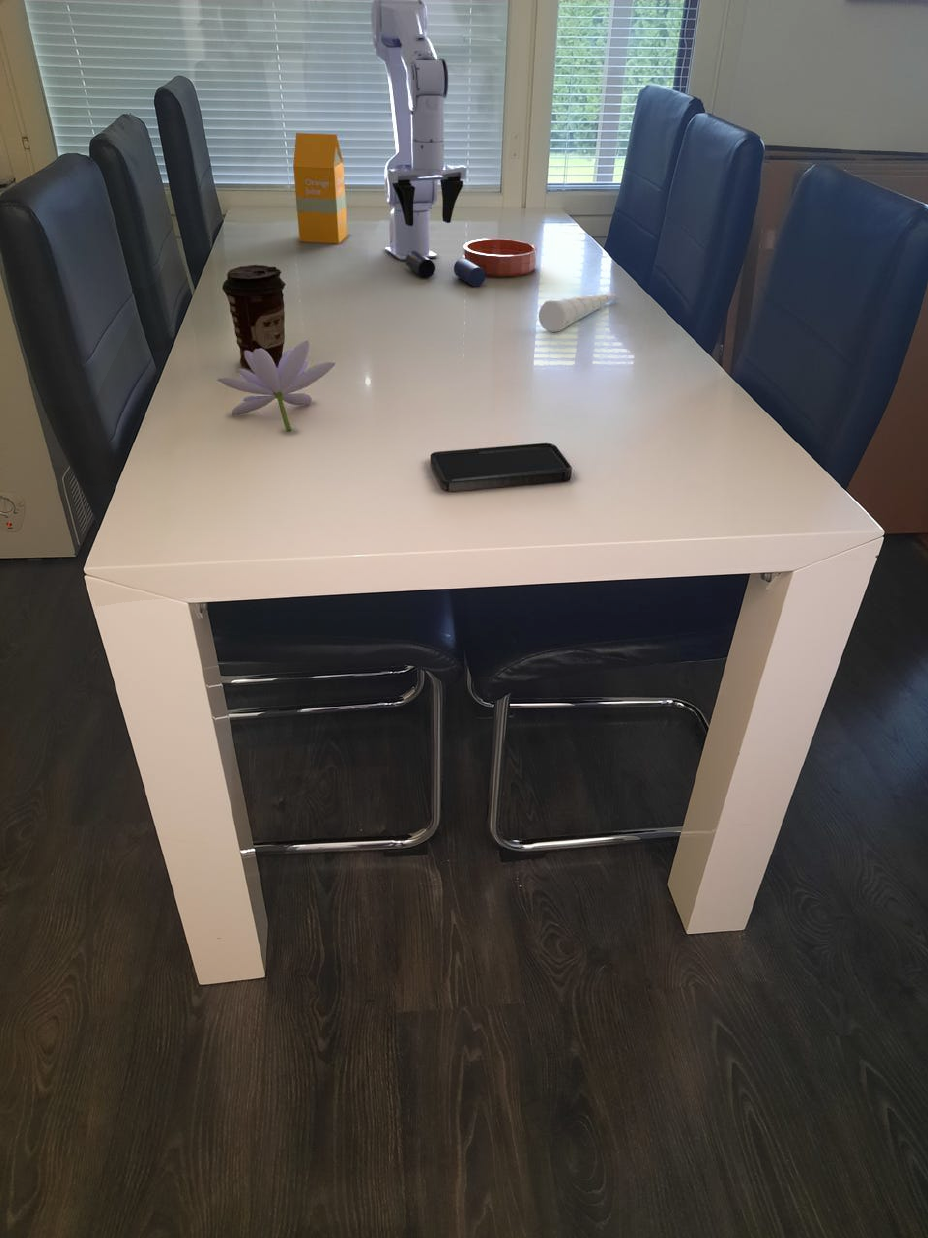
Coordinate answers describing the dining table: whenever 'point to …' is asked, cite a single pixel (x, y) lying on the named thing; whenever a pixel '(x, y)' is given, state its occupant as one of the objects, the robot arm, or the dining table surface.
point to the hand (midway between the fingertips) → (428, 223)
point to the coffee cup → (257, 310)
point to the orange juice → (319, 188)
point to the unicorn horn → (569, 310)
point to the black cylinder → (420, 264)
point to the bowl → (501, 256)
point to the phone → (499, 466)
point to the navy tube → (469, 272)
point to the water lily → (276, 379)
